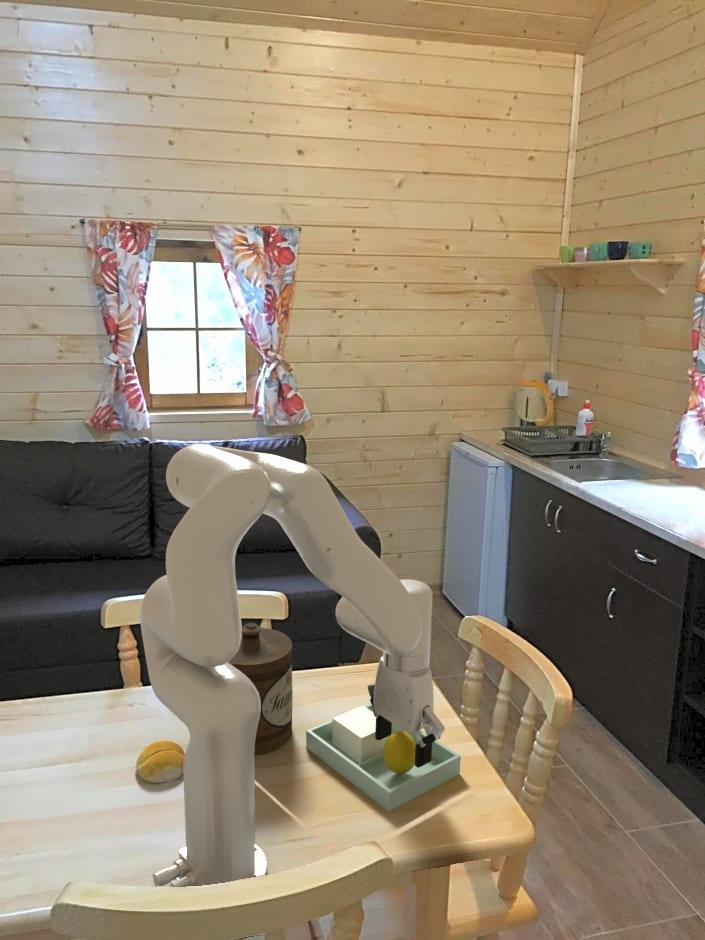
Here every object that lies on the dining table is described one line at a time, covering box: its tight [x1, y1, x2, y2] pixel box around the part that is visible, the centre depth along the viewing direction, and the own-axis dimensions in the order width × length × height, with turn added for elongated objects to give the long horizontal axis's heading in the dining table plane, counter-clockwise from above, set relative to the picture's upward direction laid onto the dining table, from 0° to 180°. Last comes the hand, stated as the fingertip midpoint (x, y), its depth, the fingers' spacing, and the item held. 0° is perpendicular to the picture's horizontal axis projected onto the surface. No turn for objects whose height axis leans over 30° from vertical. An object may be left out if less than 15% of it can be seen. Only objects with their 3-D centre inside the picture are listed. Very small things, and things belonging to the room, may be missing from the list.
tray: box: [305, 703, 462, 813], centre depth 138 cm, size 16×22×4 cm
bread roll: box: [136, 740, 185, 784], centre depth 136 cm, size 8×9×4 cm
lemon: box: [384, 731, 416, 775], centre depth 134 cm, size 6×6×8 cm
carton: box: [331, 705, 392, 763], centre depth 142 cm, size 7×8×5 cm
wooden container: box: [228, 622, 293, 757], centre depth 144 cm, size 15×15×22 cm
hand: (402, 750), depth 133 cm, fingers open, 9 cm apart
